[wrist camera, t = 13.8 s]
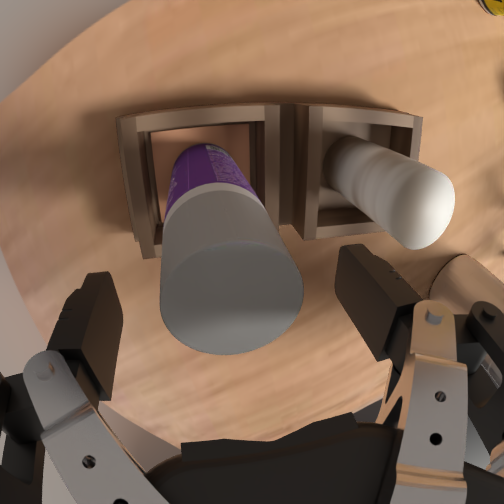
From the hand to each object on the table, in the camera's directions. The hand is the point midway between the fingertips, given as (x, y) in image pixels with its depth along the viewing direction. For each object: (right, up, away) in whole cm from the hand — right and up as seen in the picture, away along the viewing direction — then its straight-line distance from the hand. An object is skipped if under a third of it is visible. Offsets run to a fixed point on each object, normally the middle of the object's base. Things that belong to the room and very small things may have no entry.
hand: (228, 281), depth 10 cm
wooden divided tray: (+3, +8, +14) cm, 17 cm away
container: (-3, +7, +12) cm, 14 cm away
